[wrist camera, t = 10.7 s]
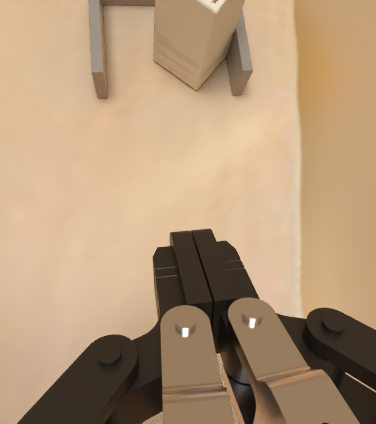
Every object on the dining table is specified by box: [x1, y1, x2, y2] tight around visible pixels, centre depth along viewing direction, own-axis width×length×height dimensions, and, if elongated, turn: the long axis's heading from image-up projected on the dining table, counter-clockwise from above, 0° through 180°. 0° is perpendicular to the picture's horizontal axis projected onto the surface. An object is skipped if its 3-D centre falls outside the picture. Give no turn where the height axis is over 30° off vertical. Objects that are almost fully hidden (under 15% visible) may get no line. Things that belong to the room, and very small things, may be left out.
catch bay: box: [89, 0, 253, 98], centre depth 42 cm, size 15×18×5 cm
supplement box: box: [154, 0, 245, 90], centre depth 39 cm, size 7×7×13 cm
